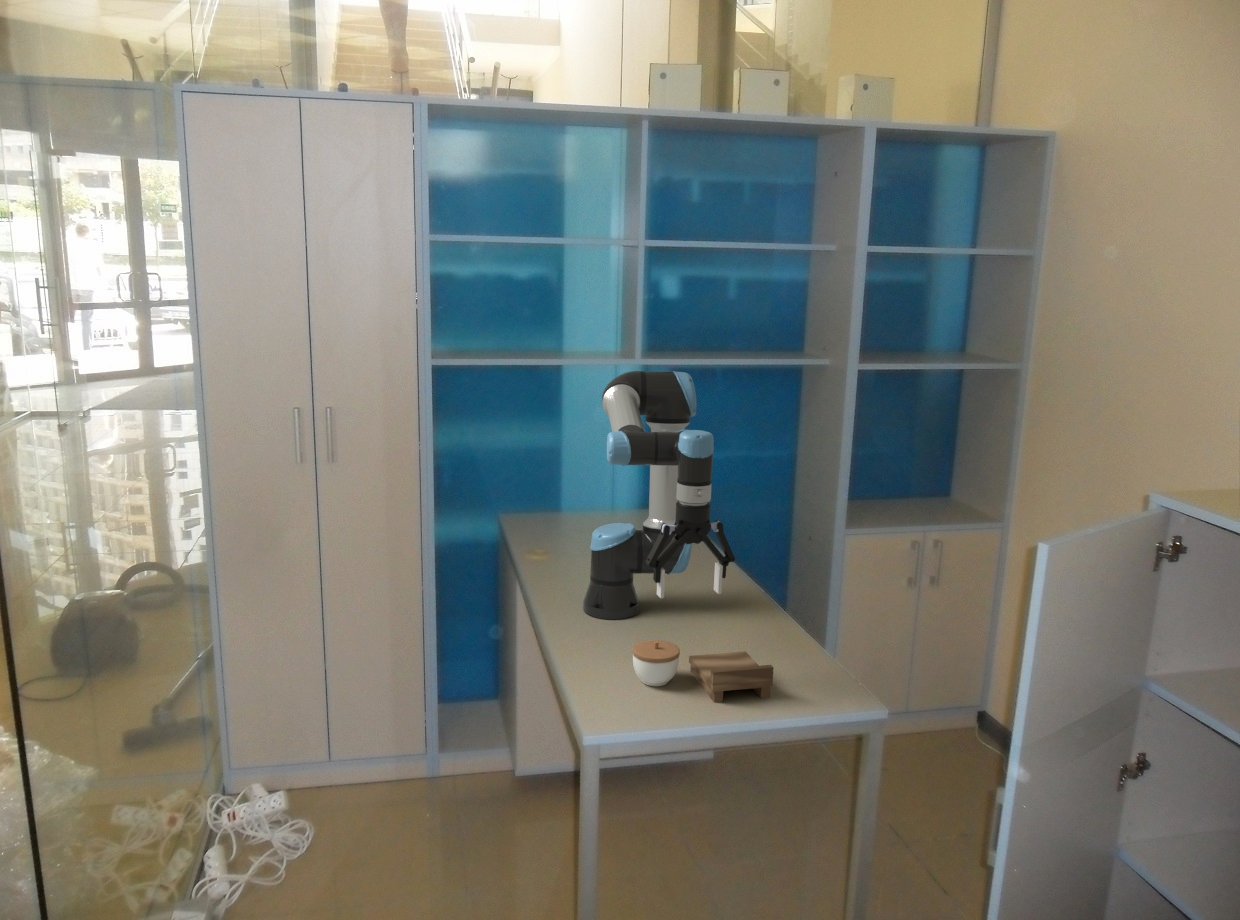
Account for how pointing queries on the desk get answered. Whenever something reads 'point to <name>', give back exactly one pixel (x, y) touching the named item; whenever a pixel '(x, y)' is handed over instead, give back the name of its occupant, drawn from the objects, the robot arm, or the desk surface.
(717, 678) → the wooden stand
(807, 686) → the desk surface
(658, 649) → the lidded jar
